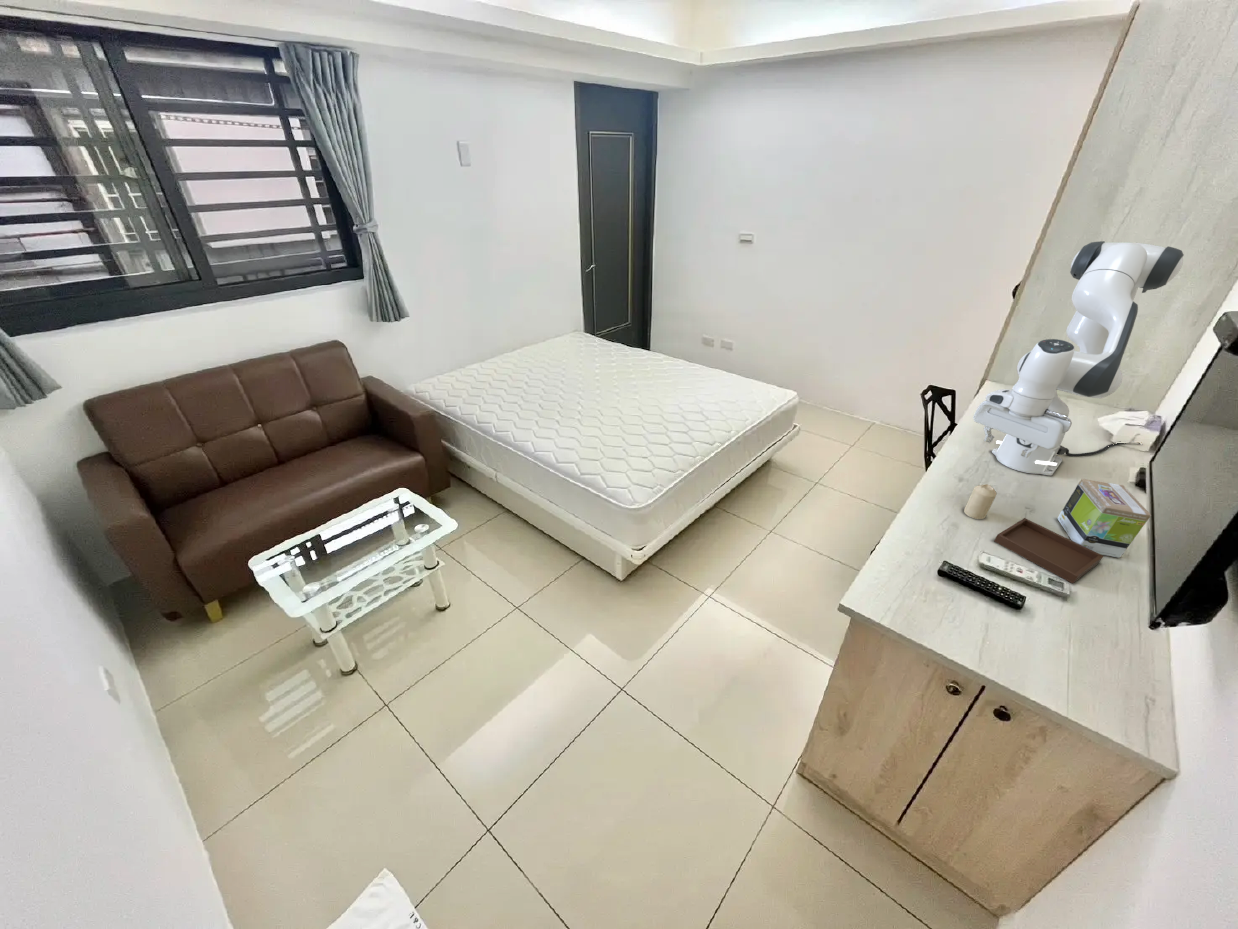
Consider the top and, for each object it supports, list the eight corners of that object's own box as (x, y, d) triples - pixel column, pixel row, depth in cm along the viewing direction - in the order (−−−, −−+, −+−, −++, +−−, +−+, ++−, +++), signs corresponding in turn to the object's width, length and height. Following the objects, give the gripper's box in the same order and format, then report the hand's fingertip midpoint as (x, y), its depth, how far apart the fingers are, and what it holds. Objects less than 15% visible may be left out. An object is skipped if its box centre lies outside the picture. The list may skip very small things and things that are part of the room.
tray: (1020, 524, 141) (1024, 517, 140) (1098, 563, 128) (1103, 556, 126) (993, 541, 135) (997, 534, 134) (1072, 583, 122) (1077, 576, 120)
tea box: (1121, 559, 129) (1153, 515, 121) (1075, 550, 132) (1104, 507, 124) (1096, 525, 141) (1124, 483, 133) (1055, 518, 144) (1080, 477, 136)
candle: (966, 506, 149) (979, 479, 144) (987, 513, 146) (1000, 486, 141) (961, 513, 146) (973, 486, 141) (982, 521, 143) (996, 494, 137)
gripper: (1081, 415, 120) (1054, 462, 127) (993, 387, 135) (974, 431, 142) (1069, 421, 117) (1042, 468, 125) (980, 392, 133) (962, 436, 140)
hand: (1005, 448), depth 134 cm, fingers open, 8 cm apart
